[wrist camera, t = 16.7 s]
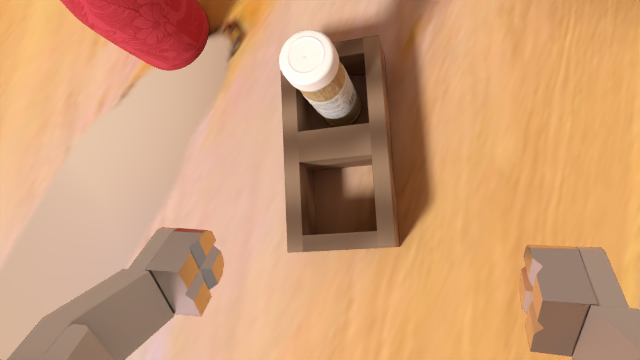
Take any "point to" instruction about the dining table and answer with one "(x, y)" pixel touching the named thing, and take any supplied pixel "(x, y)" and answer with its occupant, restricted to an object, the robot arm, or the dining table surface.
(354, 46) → the rail
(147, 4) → the wine bottle
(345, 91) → the sprinkles bottle
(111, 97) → the dining table surface
